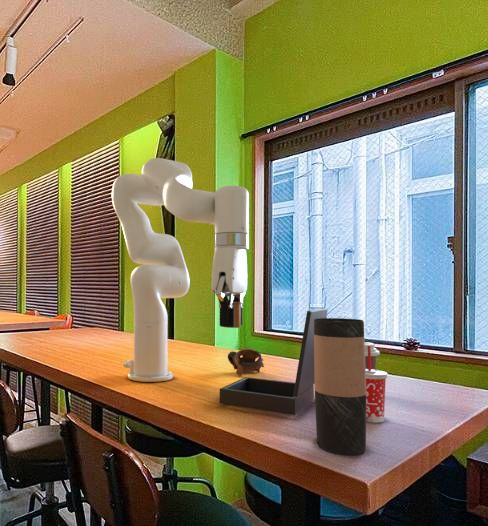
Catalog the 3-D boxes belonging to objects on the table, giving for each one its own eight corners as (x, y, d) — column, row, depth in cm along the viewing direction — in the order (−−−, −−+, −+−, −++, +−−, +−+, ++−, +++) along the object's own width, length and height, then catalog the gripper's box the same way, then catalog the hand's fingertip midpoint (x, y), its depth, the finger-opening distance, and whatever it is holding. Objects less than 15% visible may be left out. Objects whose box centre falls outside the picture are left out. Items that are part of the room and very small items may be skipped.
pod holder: (219, 407, 92) (219, 388, 92) (245, 393, 105) (245, 376, 105) (295, 419, 84) (295, 399, 84) (314, 402, 96) (313, 384, 96)
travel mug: (377, 449, 68) (374, 320, 70) (349, 460, 64) (346, 322, 65) (333, 435, 75) (331, 317, 76) (305, 444, 70) (303, 319, 71)
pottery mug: (269, 374, 130) (270, 352, 126) (253, 393, 124) (253, 371, 120) (235, 360, 137) (234, 338, 133) (218, 377, 131) (216, 355, 127)
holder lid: (306, 310, 84) (311, 311, 83) (324, 308, 96) (328, 308, 96) (292, 395, 84) (297, 397, 84) (311, 382, 97) (315, 383, 96)
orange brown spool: (217, 327, 95) (217, 301, 96) (225, 325, 99) (225, 301, 100) (237, 328, 93) (237, 302, 93) (245, 326, 97) (245, 301, 97)
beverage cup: (346, 417, 86) (345, 344, 86) (366, 412, 88) (365, 342, 89) (375, 425, 80) (373, 348, 81) (395, 420, 83) (393, 346, 84)
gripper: (230, 246, 106) (229, 322, 105) (199, 240, 92) (198, 328, 91) (260, 245, 102) (260, 324, 101) (233, 238, 88) (232, 330, 87)
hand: (231, 325), depth 96 cm, fingers closed on orange brown spool, 4 cm apart
